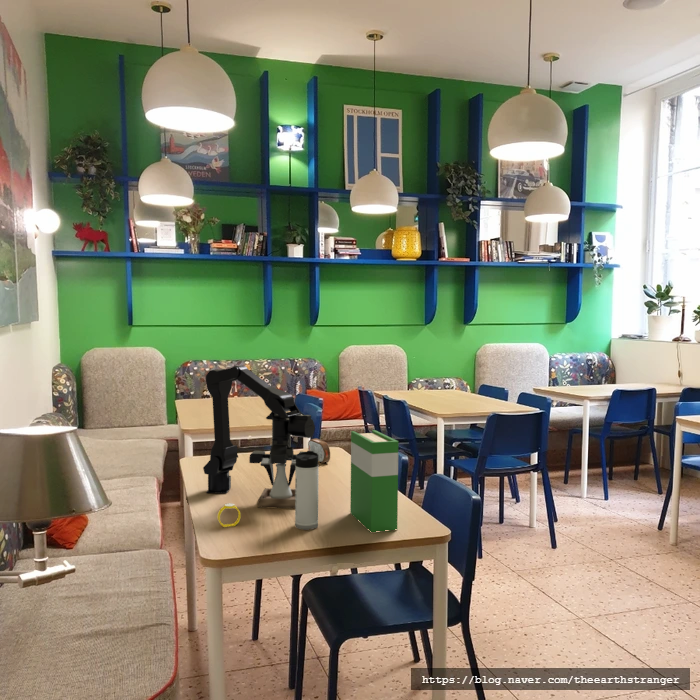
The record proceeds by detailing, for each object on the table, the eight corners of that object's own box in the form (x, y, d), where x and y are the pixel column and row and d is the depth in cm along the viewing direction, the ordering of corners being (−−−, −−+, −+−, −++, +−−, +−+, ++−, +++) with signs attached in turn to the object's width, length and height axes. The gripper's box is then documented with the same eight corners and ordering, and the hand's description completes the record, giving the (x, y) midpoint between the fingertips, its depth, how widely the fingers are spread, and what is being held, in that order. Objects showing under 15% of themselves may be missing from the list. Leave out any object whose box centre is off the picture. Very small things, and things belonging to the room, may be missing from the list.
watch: (238, 524, 171) (240, 502, 171) (240, 527, 169) (242, 505, 169) (216, 525, 169) (218, 503, 169) (218, 528, 167) (219, 506, 166)
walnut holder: (258, 507, 186) (258, 499, 186) (265, 496, 198) (265, 488, 198) (298, 508, 186) (298, 499, 185) (302, 496, 198) (302, 488, 197)
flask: (293, 499, 189) (293, 466, 188) (269, 500, 187) (269, 467, 187) (291, 492, 196) (291, 461, 195) (268, 493, 194) (268, 462, 194)
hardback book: (350, 513, 181) (351, 431, 180) (374, 511, 184) (375, 430, 182) (371, 533, 164) (372, 442, 163) (397, 530, 167) (398, 441, 166)
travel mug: (321, 523, 172) (321, 451, 171) (314, 530, 166) (315, 456, 165) (299, 521, 173) (299, 450, 172) (291, 529, 167) (292, 455, 166)
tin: (330, 464, 243) (331, 443, 242) (323, 465, 241) (323, 443, 241) (313, 457, 256) (313, 436, 255) (306, 457, 254) (306, 437, 254)
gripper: (246, 439, 183) (245, 491, 184) (309, 440, 182) (308, 493, 183) (252, 432, 194) (252, 481, 195) (312, 433, 194) (312, 483, 194)
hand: (281, 485), depth 192 cm, fingers closed on flask, 5 cm apart
